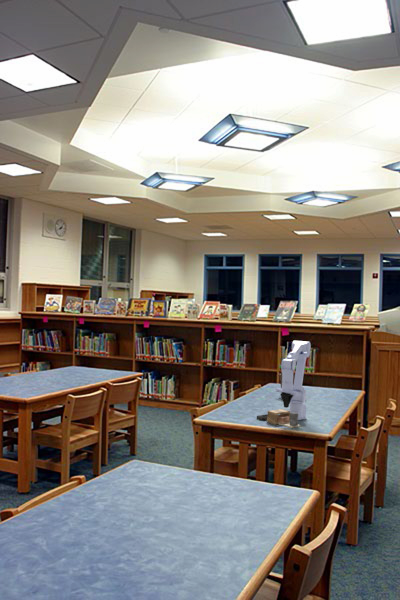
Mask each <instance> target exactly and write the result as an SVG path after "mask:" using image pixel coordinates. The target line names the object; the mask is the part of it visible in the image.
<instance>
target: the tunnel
mask: <svg viewBox="0 0 400 600" xmlns="http://www.w3.org/2000/svg"><path fill="white" fill-rule="evenodd" d="M267 414H268V415H267V420H266V423H268V424H271V425H274V426H275V425H276V426H277V425H278V424H277V415H284V416H288V417H289V422H290V411H289V410H286V409H283V408H281V409H280V408H279V409H272V410H267Z"/></svg>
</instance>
